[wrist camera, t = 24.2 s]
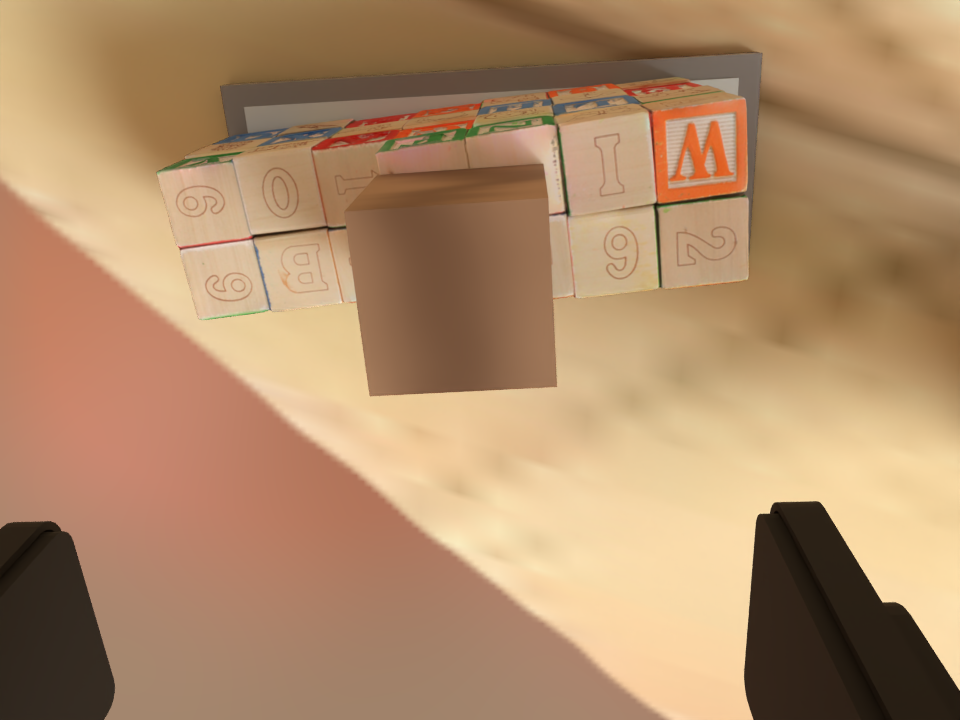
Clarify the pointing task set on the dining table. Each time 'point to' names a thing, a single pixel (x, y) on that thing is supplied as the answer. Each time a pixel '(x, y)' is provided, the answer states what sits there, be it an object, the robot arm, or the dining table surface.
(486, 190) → the walnut cube
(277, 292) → the stack of blocks
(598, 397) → the dining table surface
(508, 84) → the blueprint board
